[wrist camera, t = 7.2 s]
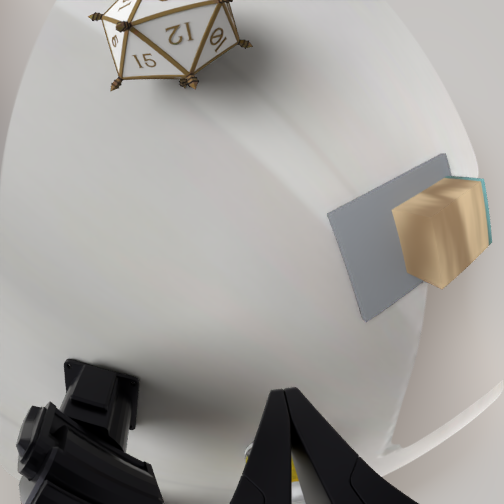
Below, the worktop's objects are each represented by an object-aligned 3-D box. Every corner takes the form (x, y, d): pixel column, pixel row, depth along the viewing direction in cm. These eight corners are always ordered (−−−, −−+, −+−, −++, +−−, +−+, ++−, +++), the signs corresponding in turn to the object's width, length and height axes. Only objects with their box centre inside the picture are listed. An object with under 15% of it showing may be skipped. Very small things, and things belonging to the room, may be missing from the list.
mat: (362, 319, 23) (366, 322, 23) (327, 213, 20) (330, 214, 20) (460, 245, 24) (463, 247, 24) (441, 153, 21) (445, 153, 21)
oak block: (442, 289, 18) (491, 242, 19) (431, 217, 16) (483, 178, 17) (406, 272, 22) (458, 233, 23) (391, 209, 21) (447, 175, 21)
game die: (159, 57, 18) (133, -46, 9) (263, 59, 17) (262, -63, 8) (99, 133, 15) (34, 5, 6) (227, 142, 14) (203, -48, 5)
